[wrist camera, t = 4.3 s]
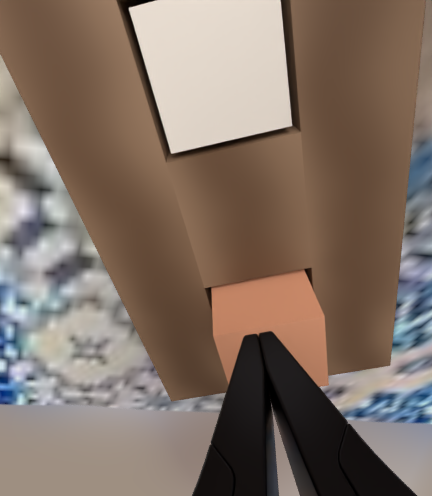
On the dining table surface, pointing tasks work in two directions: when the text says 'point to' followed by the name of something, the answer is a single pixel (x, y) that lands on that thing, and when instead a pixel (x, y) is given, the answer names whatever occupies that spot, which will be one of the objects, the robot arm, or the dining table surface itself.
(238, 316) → the terracotta plunger
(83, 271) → the dining table surface
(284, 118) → the white square block
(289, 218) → the button panel
